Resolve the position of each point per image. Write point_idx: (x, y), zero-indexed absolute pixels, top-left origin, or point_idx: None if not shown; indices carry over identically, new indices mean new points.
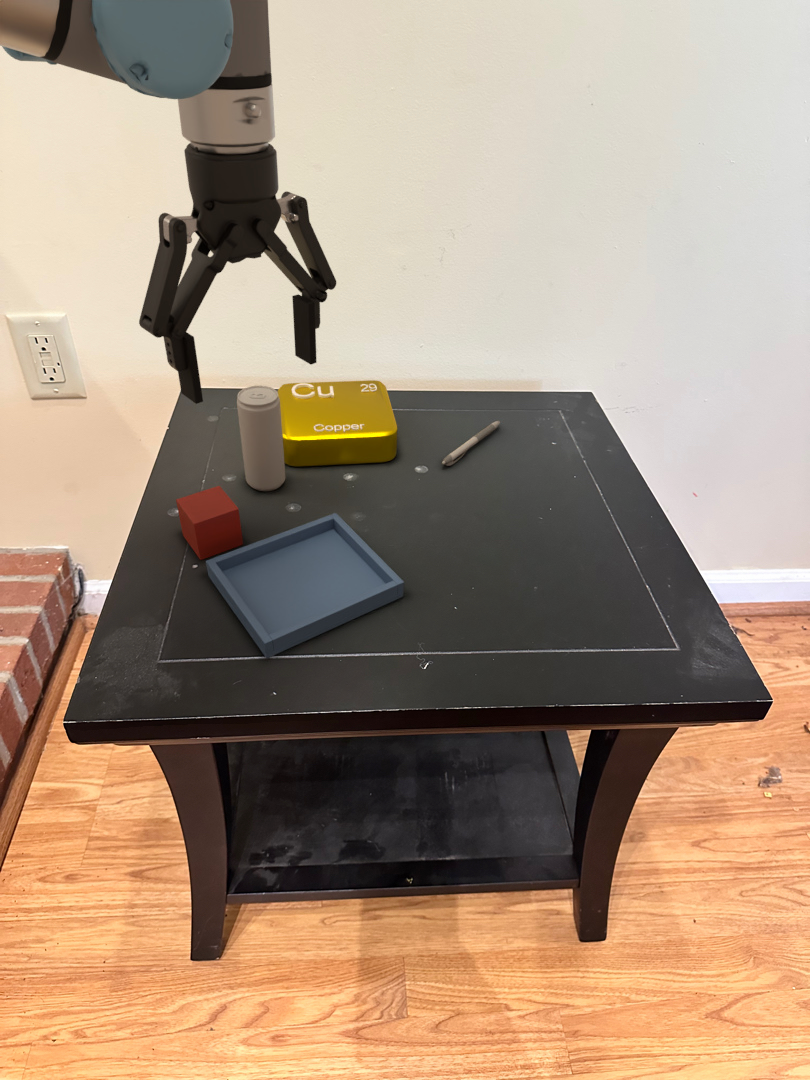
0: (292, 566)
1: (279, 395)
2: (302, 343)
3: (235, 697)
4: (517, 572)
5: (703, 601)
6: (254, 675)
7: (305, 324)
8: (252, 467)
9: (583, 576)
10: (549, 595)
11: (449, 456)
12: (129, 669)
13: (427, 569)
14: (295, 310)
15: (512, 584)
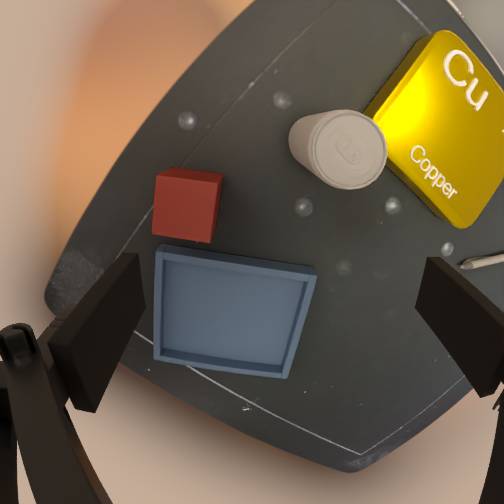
0: (232, 293)
1: (430, 45)
2: (438, 303)
3: (125, 356)
4: (368, 390)
5: (404, 442)
6: (143, 352)
7: (459, 346)
8: (293, 150)
9: (389, 410)
10: (359, 411)
11: (471, 267)
12: (72, 292)
13: (326, 357)
14: (485, 324)
15: (354, 396)
